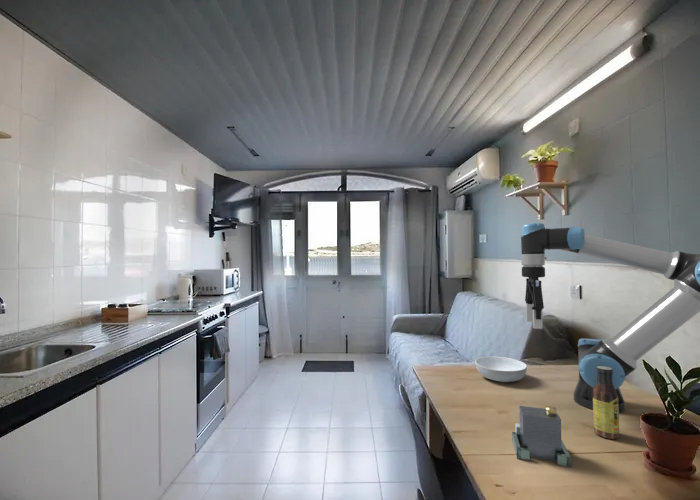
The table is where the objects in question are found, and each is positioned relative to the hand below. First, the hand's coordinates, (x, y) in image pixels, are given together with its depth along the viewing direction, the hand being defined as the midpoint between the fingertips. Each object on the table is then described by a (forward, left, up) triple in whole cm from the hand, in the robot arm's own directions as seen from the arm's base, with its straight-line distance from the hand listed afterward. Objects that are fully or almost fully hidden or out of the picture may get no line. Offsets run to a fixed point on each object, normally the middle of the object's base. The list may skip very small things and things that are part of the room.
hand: (534, 324), depth 126 cm
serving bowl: (+9, -26, -29) cm, 40 cm away
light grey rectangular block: (+6, +28, -29) cm, 40 cm away
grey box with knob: (+5, +34, -29) cm, 45 cm away
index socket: (+5, +34, -29) cm, 45 cm away
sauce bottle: (-16, +17, -29) cm, 37 cm away
